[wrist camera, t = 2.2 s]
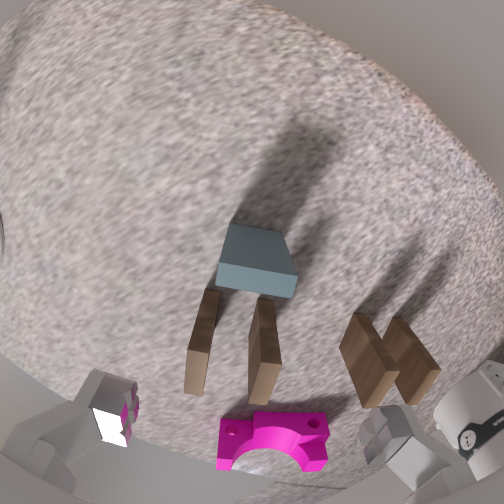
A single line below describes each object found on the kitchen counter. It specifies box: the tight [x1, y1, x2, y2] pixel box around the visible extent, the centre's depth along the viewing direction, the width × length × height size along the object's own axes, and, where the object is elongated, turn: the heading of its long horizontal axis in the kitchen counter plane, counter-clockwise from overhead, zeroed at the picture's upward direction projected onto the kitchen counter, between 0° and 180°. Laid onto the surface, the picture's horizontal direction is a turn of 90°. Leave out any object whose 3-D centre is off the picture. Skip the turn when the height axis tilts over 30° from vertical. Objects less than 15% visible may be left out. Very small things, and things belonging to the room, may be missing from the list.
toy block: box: [216, 411, 330, 472], centre depth 34 cm, size 15×6×8 cm, turn 83°
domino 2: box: [215, 223, 298, 299], centre depth 23 cm, size 2×5×10 cm, turn 79°
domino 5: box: [382, 317, 441, 405], centre depth 27 cm, size 2×5×10 cm, turn 169°
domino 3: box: [248, 298, 282, 405], centre depth 26 cm, size 2×5×10 cm, turn 169°
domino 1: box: [184, 289, 220, 396], centre depth 25 cm, size 2×5×10 cm, turn 169°
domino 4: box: [339, 313, 400, 409], centre depth 27 cm, size 2×5×10 cm, turn 168°
